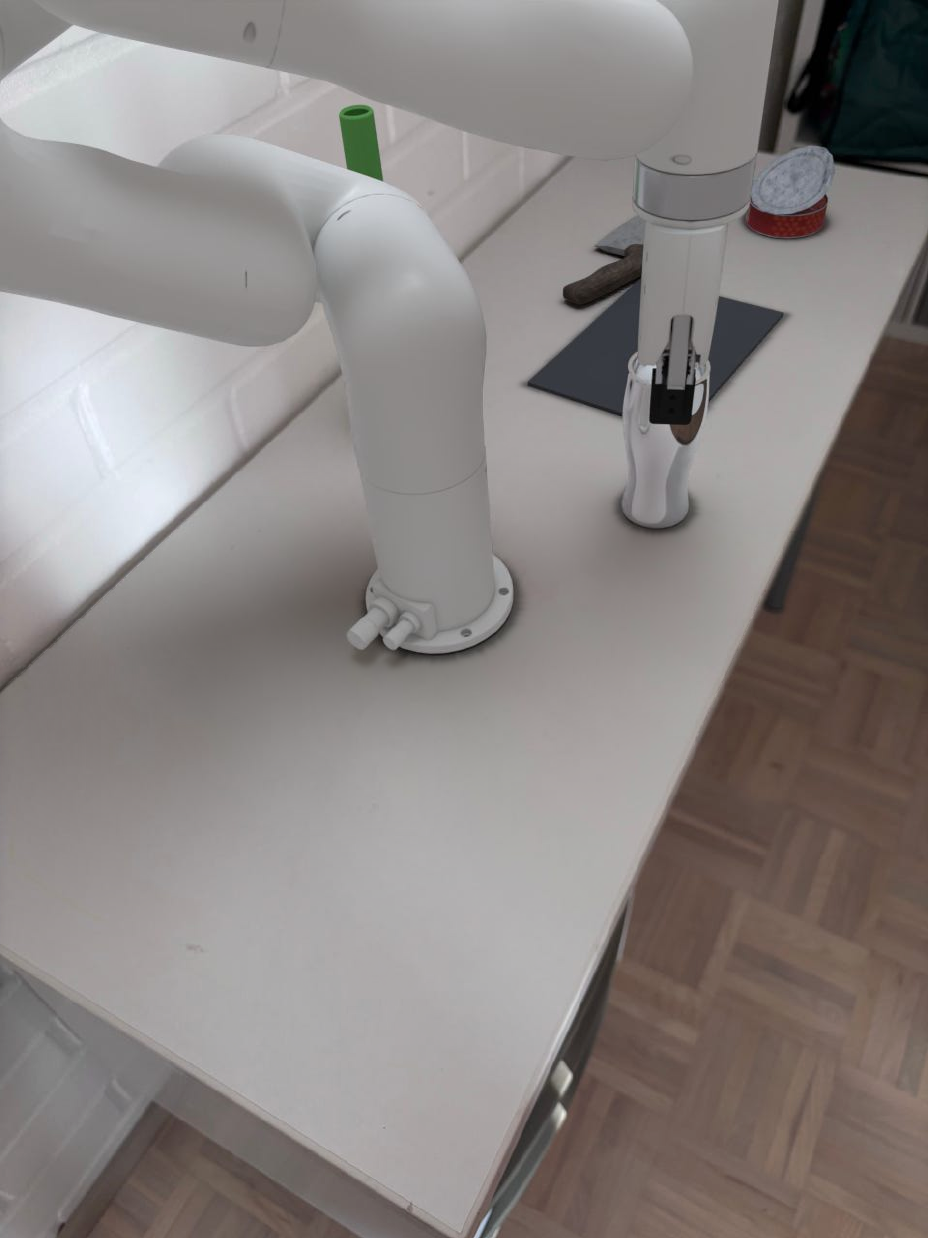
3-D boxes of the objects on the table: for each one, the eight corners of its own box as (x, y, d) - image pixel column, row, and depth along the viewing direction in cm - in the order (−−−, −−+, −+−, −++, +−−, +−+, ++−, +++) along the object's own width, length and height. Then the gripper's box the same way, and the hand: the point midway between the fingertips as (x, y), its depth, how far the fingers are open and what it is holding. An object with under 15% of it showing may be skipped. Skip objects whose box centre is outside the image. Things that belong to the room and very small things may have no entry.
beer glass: (653, 543, 84) (668, 400, 73) (601, 504, 88) (607, 363, 77) (709, 509, 87) (731, 366, 76) (656, 473, 91) (669, 332, 80)
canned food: (816, 262, 125) (847, 211, 115) (740, 258, 125) (765, 207, 115) (811, 189, 128) (841, 134, 118) (737, 185, 128) (761, 130, 118)
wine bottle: (417, 384, 104) (380, 86, 82) (448, 419, 99) (417, 112, 77) (352, 406, 102) (296, 107, 80) (380, 443, 97) (328, 135, 75)
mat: (679, 434, 94) (679, 431, 94) (527, 385, 102) (527, 381, 102) (783, 315, 108) (783, 312, 108) (642, 279, 116) (642, 276, 116)
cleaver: (597, 314, 111) (597, 298, 109) (530, 292, 115) (529, 276, 114) (722, 219, 125) (724, 203, 124) (658, 203, 130) (660, 187, 129)
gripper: (637, 135, 66) (625, 364, 80) (628, 235, 56) (616, 477, 70) (748, 133, 65) (717, 365, 78) (758, 234, 55) (721, 481, 69)
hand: (669, 417), depth 74 cm, fingers closed
